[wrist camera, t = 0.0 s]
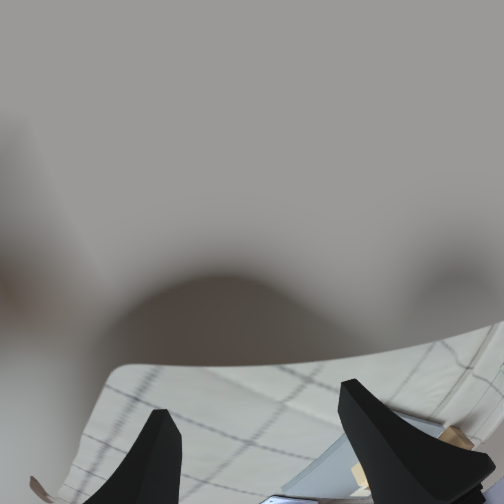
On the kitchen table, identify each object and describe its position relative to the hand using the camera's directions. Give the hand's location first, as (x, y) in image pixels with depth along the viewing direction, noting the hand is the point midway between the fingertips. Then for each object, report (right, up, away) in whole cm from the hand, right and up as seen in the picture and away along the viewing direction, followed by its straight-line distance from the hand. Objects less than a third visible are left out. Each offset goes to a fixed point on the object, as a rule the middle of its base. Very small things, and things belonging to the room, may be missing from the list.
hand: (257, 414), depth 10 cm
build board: (+14, -19, +15) cm, 29 cm away
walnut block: (+28, -21, +17) cm, 39 cm away
